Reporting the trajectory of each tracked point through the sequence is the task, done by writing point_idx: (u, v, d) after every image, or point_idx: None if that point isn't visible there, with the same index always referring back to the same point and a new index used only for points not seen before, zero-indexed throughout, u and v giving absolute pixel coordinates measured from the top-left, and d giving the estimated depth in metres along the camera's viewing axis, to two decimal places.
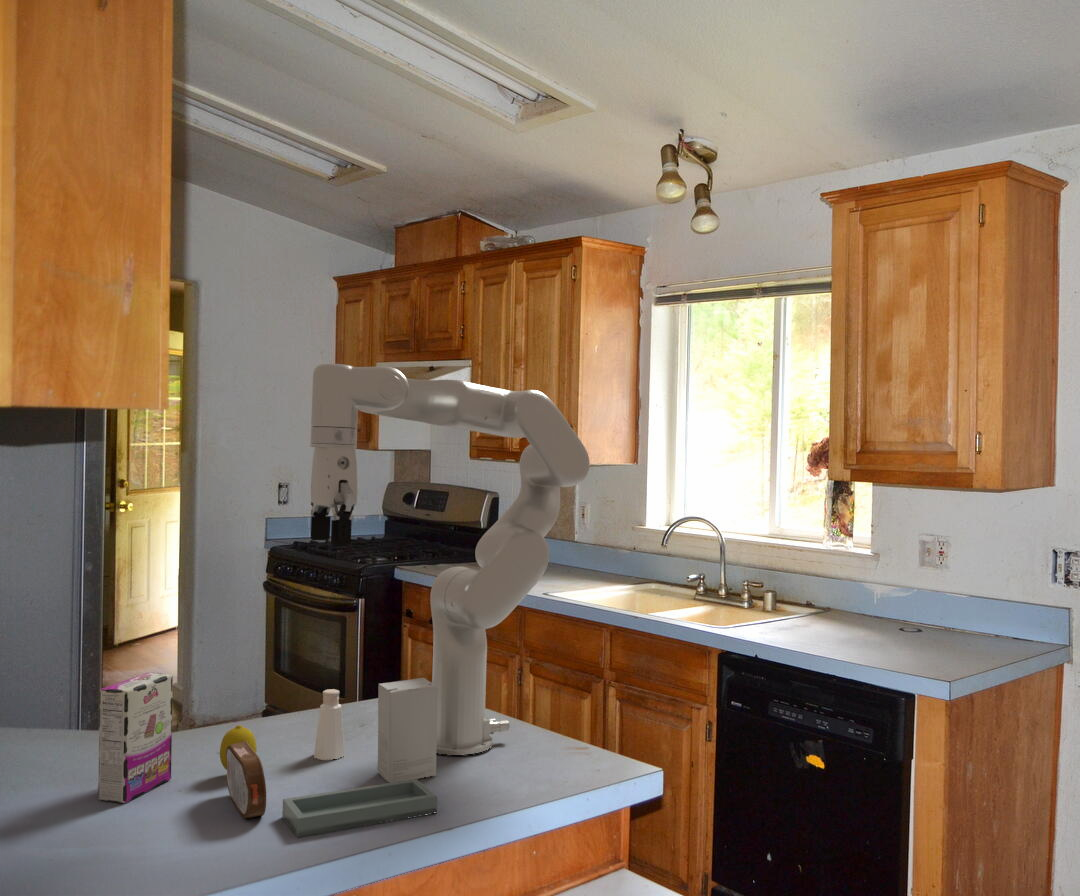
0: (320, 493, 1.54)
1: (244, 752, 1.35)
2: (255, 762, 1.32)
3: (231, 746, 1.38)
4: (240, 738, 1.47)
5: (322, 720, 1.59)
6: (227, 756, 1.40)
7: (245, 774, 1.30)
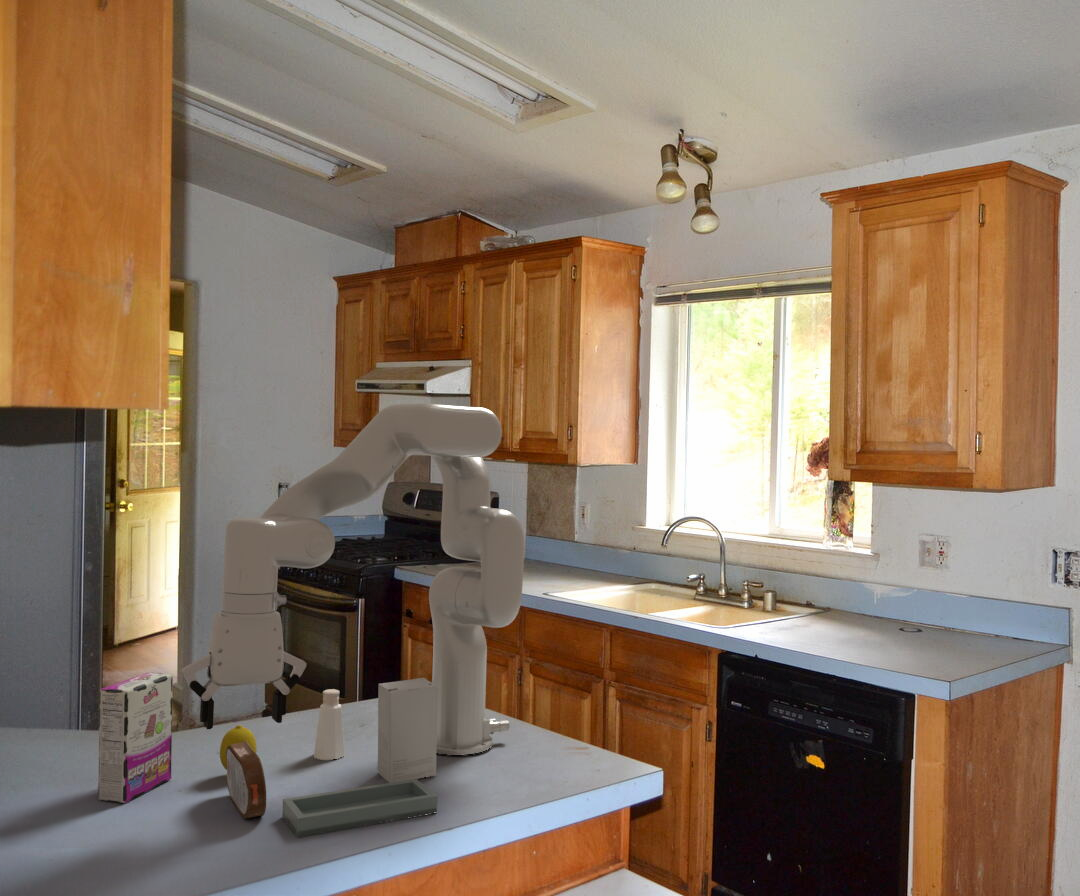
0: (256, 669, 1.34)
1: (244, 753, 1.35)
2: (255, 762, 1.32)
3: (231, 746, 1.38)
4: (240, 738, 1.47)
5: (322, 720, 1.59)
6: (227, 756, 1.40)
7: (245, 774, 1.30)
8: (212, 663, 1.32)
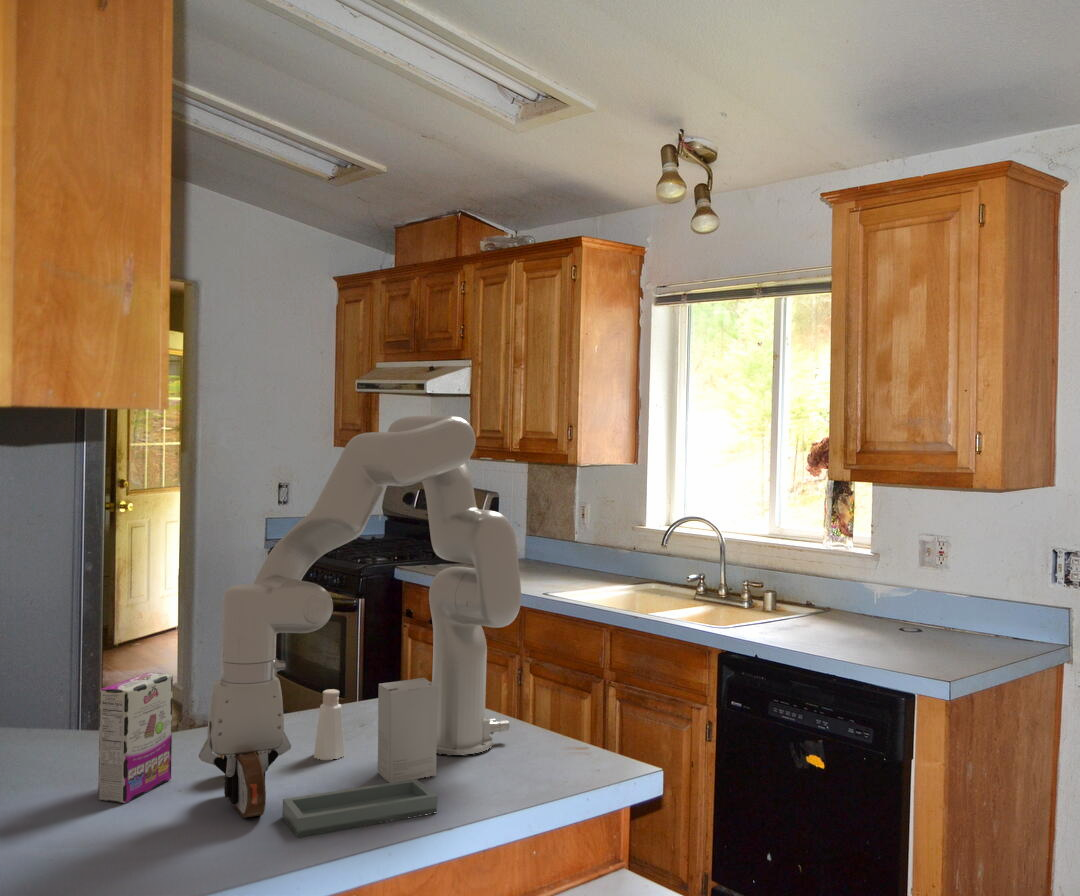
0: (256, 737, 1.34)
1: None
2: (255, 761, 1.32)
3: None
4: None
5: (322, 720, 1.59)
6: None
7: (245, 773, 1.30)
8: (212, 733, 1.32)
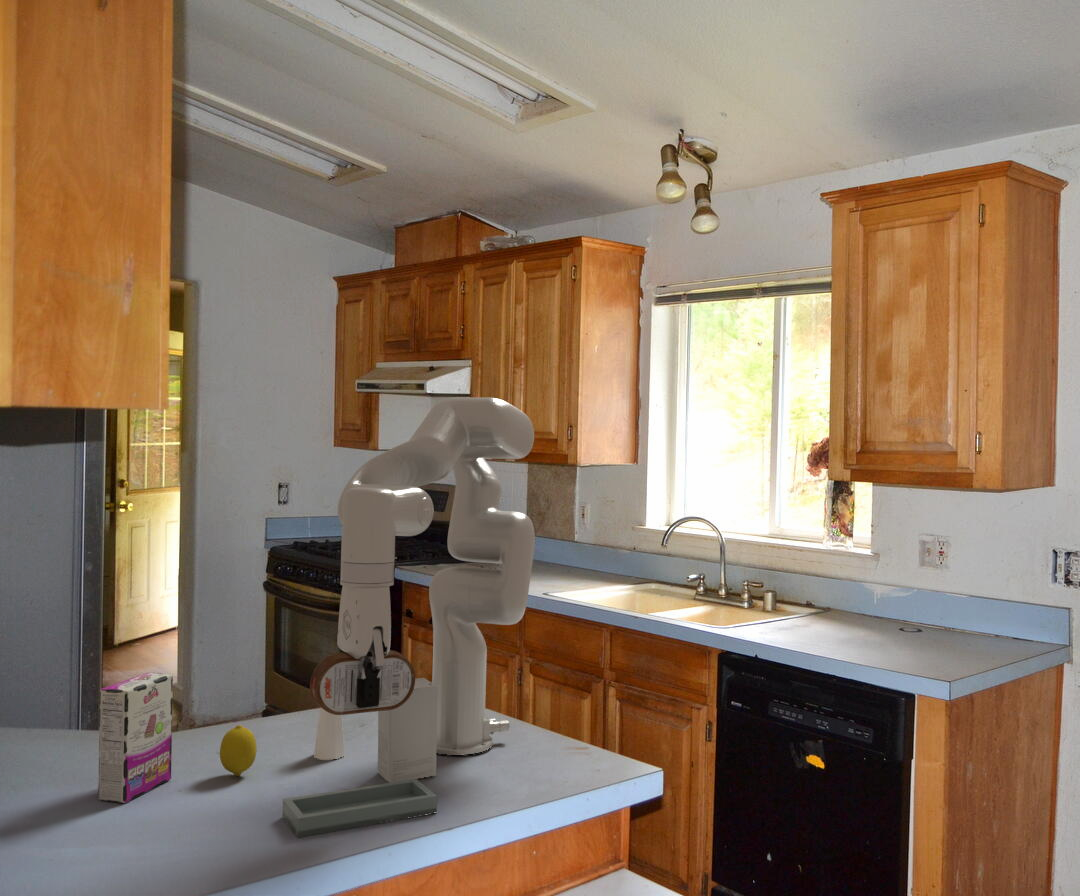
0: None
1: (369, 654, 1.34)
2: (396, 652, 1.37)
3: (345, 657, 1.32)
4: (240, 738, 1.47)
5: (322, 720, 1.59)
6: (325, 675, 1.30)
7: (408, 661, 1.36)
8: (387, 635, 1.31)
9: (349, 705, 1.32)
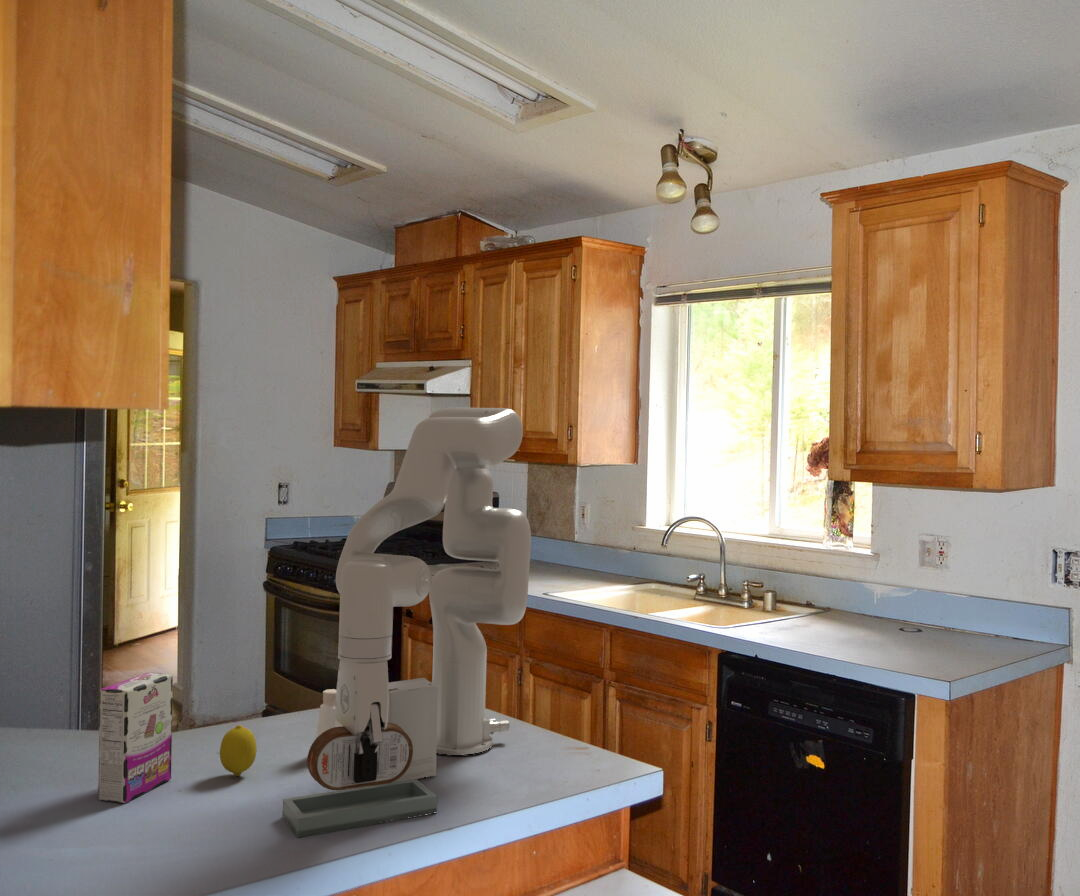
0: None
1: (367, 727, 1.34)
2: (394, 725, 1.37)
3: (343, 732, 1.31)
4: (240, 738, 1.47)
5: (322, 720, 1.59)
6: (323, 751, 1.30)
7: (406, 734, 1.36)
8: (385, 710, 1.31)
9: (346, 780, 1.32)
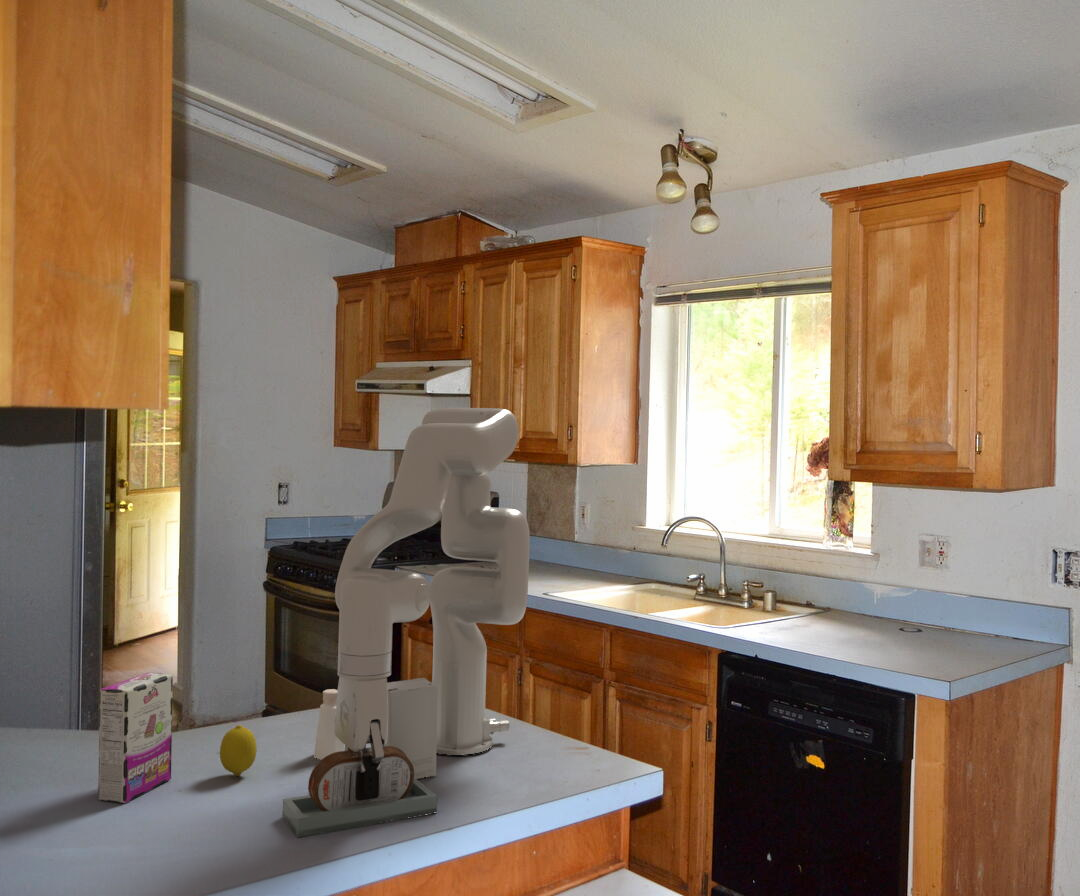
0: None
1: (369, 752, 1.34)
2: (396, 749, 1.36)
3: (344, 758, 1.31)
4: (240, 738, 1.47)
5: (322, 720, 1.59)
6: (324, 777, 1.30)
7: (407, 759, 1.36)
8: (385, 727, 1.31)
9: (347, 805, 1.32)
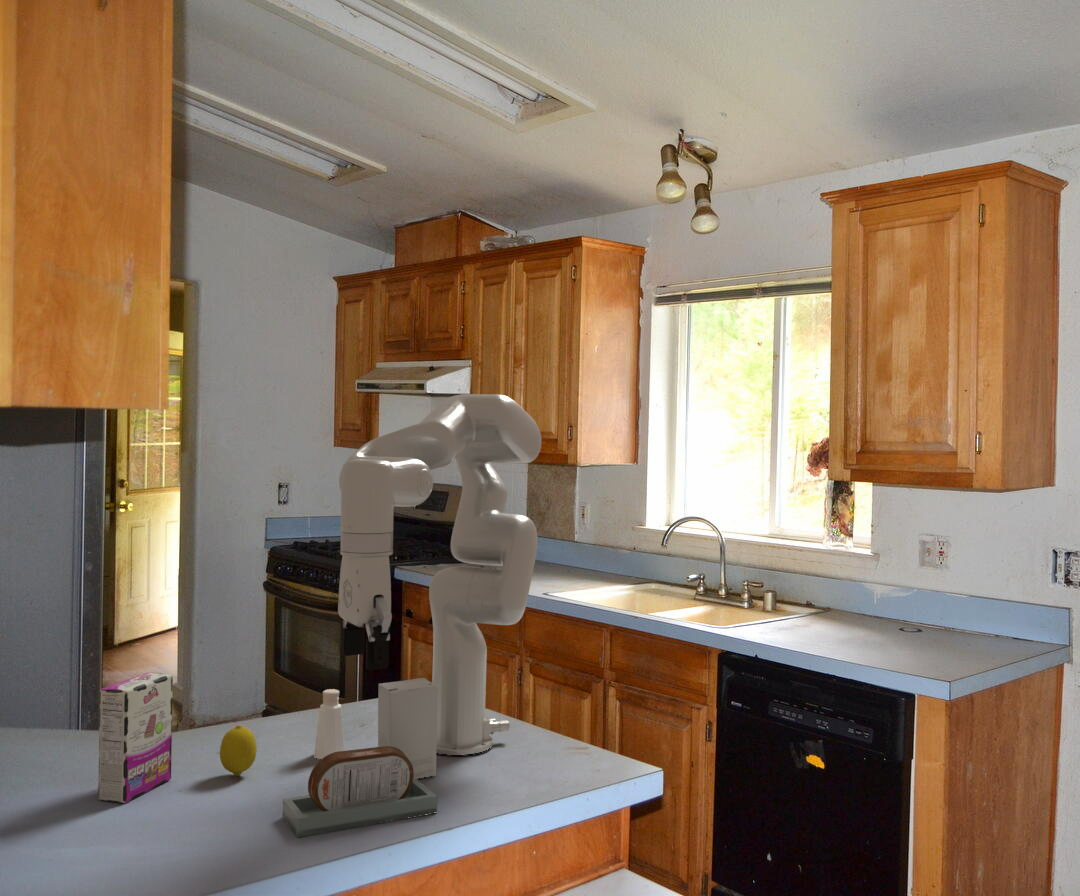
0: None
1: (368, 752, 1.34)
2: (395, 749, 1.37)
3: (344, 758, 1.31)
4: (240, 738, 1.47)
5: (322, 720, 1.59)
6: (324, 777, 1.30)
7: (407, 758, 1.36)
8: (388, 603, 1.34)
9: (347, 805, 1.32)
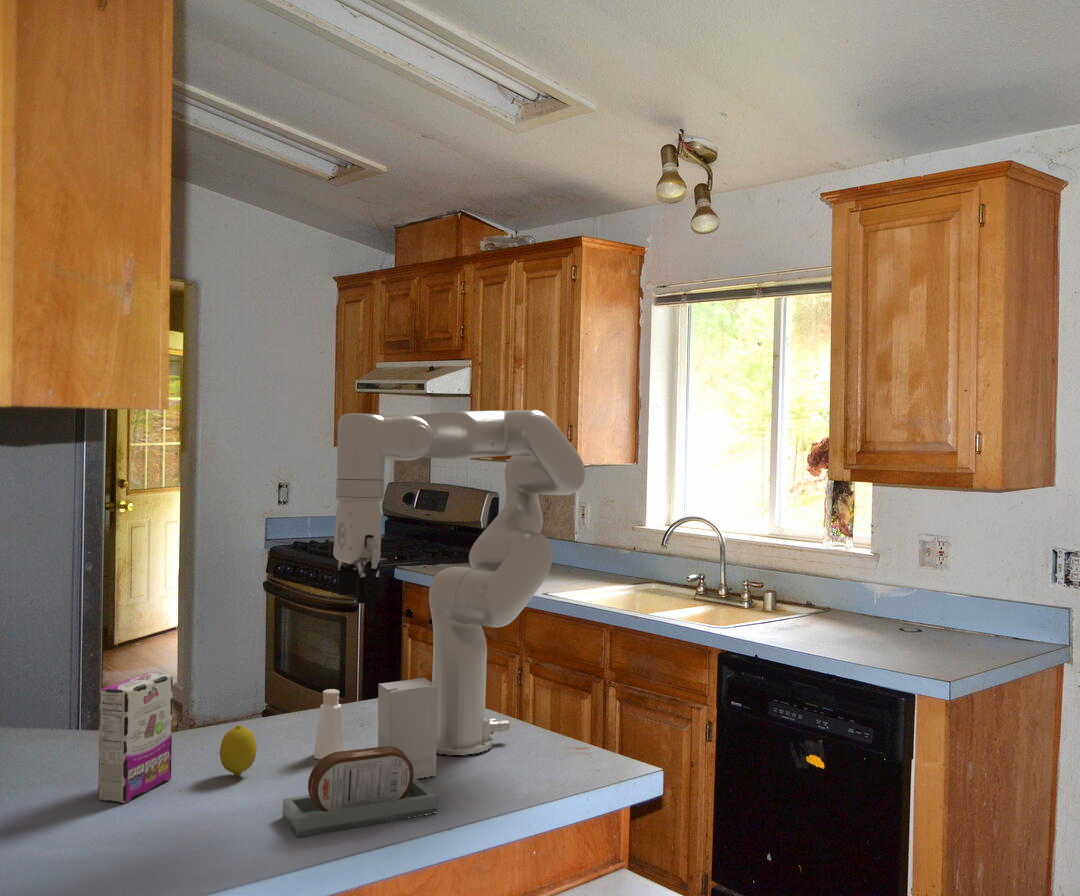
0: None
1: (368, 752, 1.34)
2: (395, 749, 1.37)
3: (344, 758, 1.31)
4: (240, 738, 1.47)
5: (322, 720, 1.59)
6: (324, 777, 1.30)
7: (407, 758, 1.36)
8: (378, 543, 1.47)
9: (347, 805, 1.32)
